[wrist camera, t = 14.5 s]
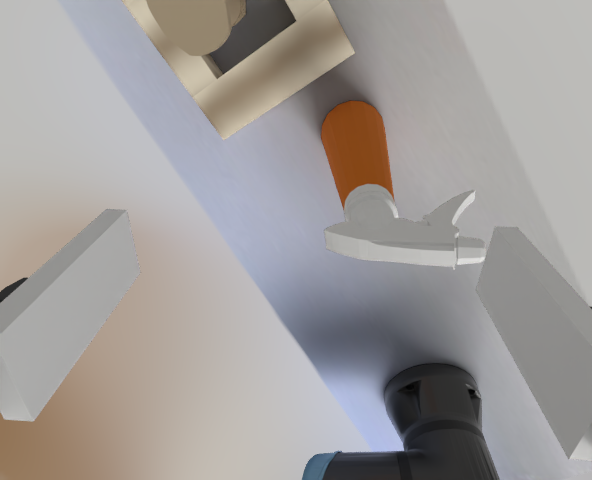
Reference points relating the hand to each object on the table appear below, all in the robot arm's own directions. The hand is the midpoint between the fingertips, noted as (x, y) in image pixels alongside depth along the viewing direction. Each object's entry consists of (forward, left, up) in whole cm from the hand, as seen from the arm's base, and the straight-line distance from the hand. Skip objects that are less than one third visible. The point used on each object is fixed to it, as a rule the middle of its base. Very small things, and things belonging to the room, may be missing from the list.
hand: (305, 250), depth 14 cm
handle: (+7, +9, -33) cm, 35 cm away
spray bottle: (-4, -6, -33) cm, 33 cm away
